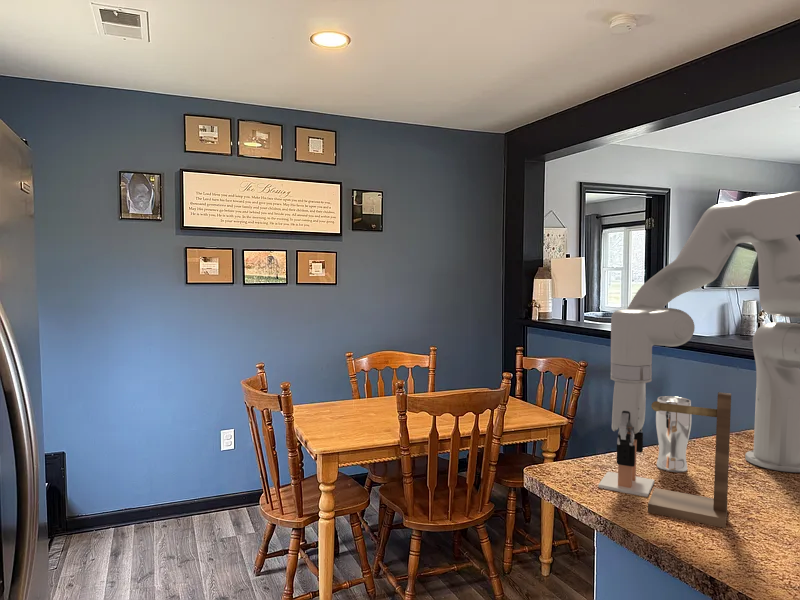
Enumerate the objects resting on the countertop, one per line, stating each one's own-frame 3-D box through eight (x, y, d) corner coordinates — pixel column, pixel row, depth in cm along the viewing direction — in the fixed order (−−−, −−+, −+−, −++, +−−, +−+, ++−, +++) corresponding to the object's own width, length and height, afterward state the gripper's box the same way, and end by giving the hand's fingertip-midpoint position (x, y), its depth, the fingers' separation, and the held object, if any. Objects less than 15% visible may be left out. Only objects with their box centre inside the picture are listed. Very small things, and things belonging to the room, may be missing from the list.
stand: (651, 495, 110) (655, 382, 109) (727, 509, 104) (731, 390, 103) (644, 511, 103) (648, 390, 102) (725, 528, 96) (730, 399, 95)
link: (623, 476, 119) (624, 437, 118) (635, 478, 117) (636, 439, 117) (617, 485, 113) (618, 445, 113) (630, 487, 112) (632, 447, 112)
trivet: (607, 474, 122) (607, 471, 122) (654, 482, 117) (654, 479, 117) (598, 487, 114) (598, 484, 114) (647, 497, 109) (647, 493, 109)
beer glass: (693, 474, 122) (696, 403, 121) (658, 471, 124) (660, 401, 123) (684, 463, 129) (686, 396, 128) (651, 461, 130) (653, 395, 130)
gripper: (619, 364, 124) (618, 443, 125) (601, 378, 109) (601, 467, 110) (657, 367, 120) (656, 448, 121) (644, 381, 105) (643, 474, 106)
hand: (630, 457), depth 115 cm, fingers open, 9 cm apart
